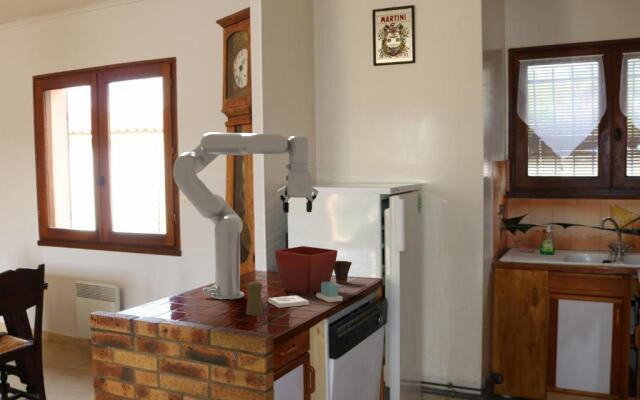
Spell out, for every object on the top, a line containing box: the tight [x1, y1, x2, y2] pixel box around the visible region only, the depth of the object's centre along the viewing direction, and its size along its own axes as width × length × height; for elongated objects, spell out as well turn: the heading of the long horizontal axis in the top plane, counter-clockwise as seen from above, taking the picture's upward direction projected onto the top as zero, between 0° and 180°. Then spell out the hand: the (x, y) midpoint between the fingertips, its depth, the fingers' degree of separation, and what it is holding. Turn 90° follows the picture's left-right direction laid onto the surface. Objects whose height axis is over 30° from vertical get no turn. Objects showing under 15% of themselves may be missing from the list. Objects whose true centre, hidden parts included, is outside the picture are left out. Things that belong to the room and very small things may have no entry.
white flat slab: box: [268, 294, 310, 309], centre depth 219 cm, size 12×10×2 cm
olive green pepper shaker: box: [245, 280, 264, 317], centre depth 203 cm, size 6×6×11 cm
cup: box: [333, 260, 353, 285], centre depth 260 cm, size 9×9×10 cm
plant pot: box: [274, 245, 338, 295], centre depth 242 cm, size 19×19×17 cm
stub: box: [316, 280, 343, 303], centre depth 226 cm, size 6×10×6 cm, turn 28°
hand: (297, 212), depth 227 cm, fingers open, 9 cm apart
